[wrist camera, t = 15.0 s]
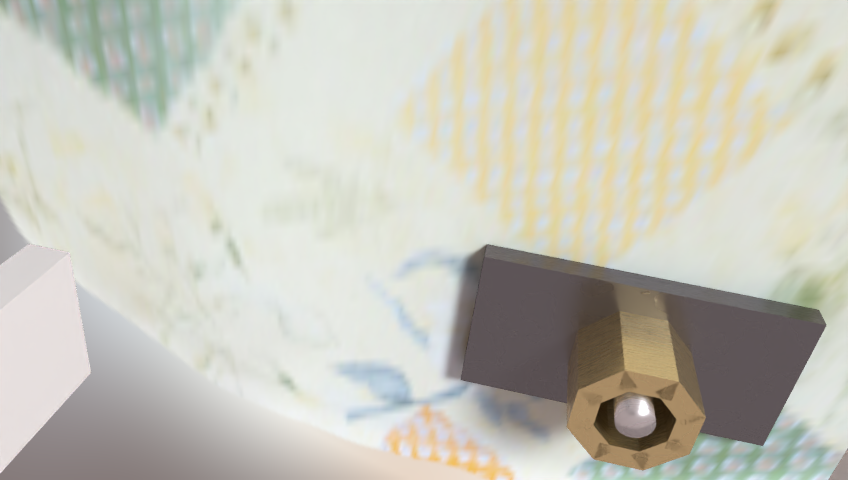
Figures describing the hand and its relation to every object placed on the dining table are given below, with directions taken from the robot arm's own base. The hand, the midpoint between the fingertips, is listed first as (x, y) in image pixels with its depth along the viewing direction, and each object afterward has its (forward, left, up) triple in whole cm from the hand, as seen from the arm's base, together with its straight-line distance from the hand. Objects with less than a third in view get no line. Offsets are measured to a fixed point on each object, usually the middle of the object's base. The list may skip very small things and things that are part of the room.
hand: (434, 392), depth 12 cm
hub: (+10, -19, -27) cm, 35 cm away
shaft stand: (+10, -19, -29) cm, 36 cm away
